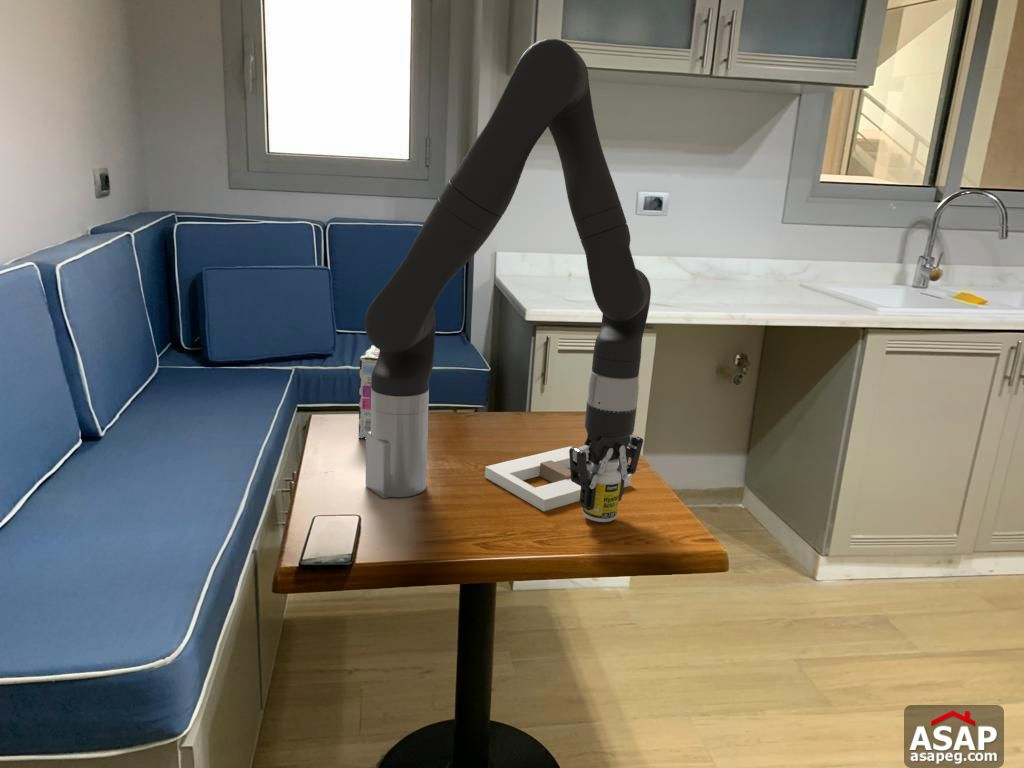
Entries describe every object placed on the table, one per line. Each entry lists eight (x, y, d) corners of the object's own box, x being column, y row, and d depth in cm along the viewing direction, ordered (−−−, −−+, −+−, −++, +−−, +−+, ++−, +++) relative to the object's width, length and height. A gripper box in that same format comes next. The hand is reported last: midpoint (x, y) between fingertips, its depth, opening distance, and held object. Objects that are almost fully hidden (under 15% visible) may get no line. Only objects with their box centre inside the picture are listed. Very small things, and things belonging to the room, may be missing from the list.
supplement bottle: (603, 526, 119) (609, 467, 116) (575, 514, 122) (581, 456, 119) (623, 516, 123) (630, 458, 120) (595, 504, 126) (602, 448, 123)
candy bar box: (383, 441, 150) (384, 359, 145) (357, 439, 150) (358, 357, 146) (393, 422, 161) (395, 345, 156) (369, 421, 161) (370, 344, 156)
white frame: (543, 511, 124) (544, 497, 123) (484, 477, 136) (485, 463, 135) (630, 485, 136) (631, 472, 135) (569, 456, 148) (570, 443, 147)
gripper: (594, 415, 110) (583, 524, 115) (662, 401, 119) (649, 503, 123) (559, 401, 115) (550, 504, 120) (627, 388, 124) (616, 486, 129)
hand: (601, 503), depth 122 cm, fingers closed on supplement bottle, 5 cm apart
